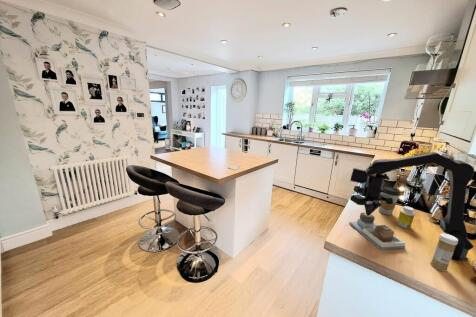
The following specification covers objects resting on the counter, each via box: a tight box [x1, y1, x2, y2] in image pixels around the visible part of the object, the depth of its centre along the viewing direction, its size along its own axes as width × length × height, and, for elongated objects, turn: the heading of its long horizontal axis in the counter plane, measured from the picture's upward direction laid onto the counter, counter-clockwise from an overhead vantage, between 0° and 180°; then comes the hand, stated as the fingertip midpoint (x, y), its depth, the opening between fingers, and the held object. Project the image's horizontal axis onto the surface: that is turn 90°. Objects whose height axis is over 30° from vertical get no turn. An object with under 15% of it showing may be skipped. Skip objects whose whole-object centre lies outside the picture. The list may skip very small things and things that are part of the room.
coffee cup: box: [378, 186, 400, 216], centre depth 111 cm, size 8×8×15 cm
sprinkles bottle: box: [430, 232, 458, 272], centre depth 71 cm, size 5×5×13 cm
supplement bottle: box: [396, 205, 416, 229], centre depth 99 cm, size 6×6×10 cm
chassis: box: [348, 217, 406, 251], centre depth 90 cm, size 19×12×4 cm, turn 8°
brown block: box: [374, 224, 395, 242], centre depth 86 cm, size 5×4×6 cm
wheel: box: [359, 212, 375, 223], centre depth 95 cm, size 6×6×2 cm
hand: (367, 215), depth 95 cm, fingers closed, pressing on wheel
